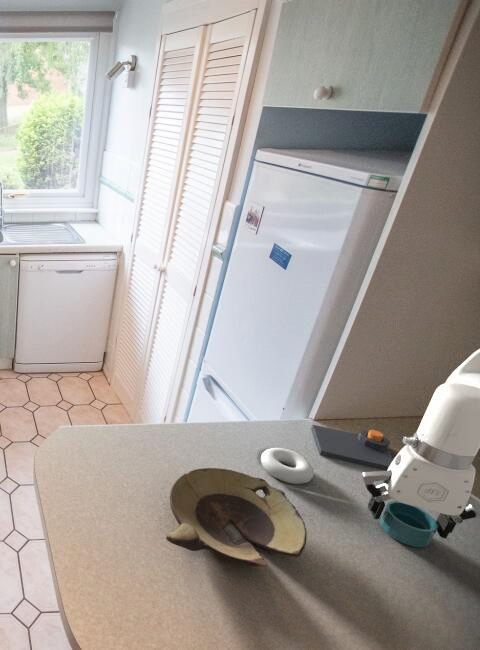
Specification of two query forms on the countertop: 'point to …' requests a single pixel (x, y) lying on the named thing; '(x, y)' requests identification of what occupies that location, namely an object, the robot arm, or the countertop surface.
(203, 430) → the countertop surface
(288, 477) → the donut
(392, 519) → the small bowl
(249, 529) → the broken ceramic bowl
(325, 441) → the scale
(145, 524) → the countertop surface
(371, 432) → the tare button
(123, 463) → the countertop surface
